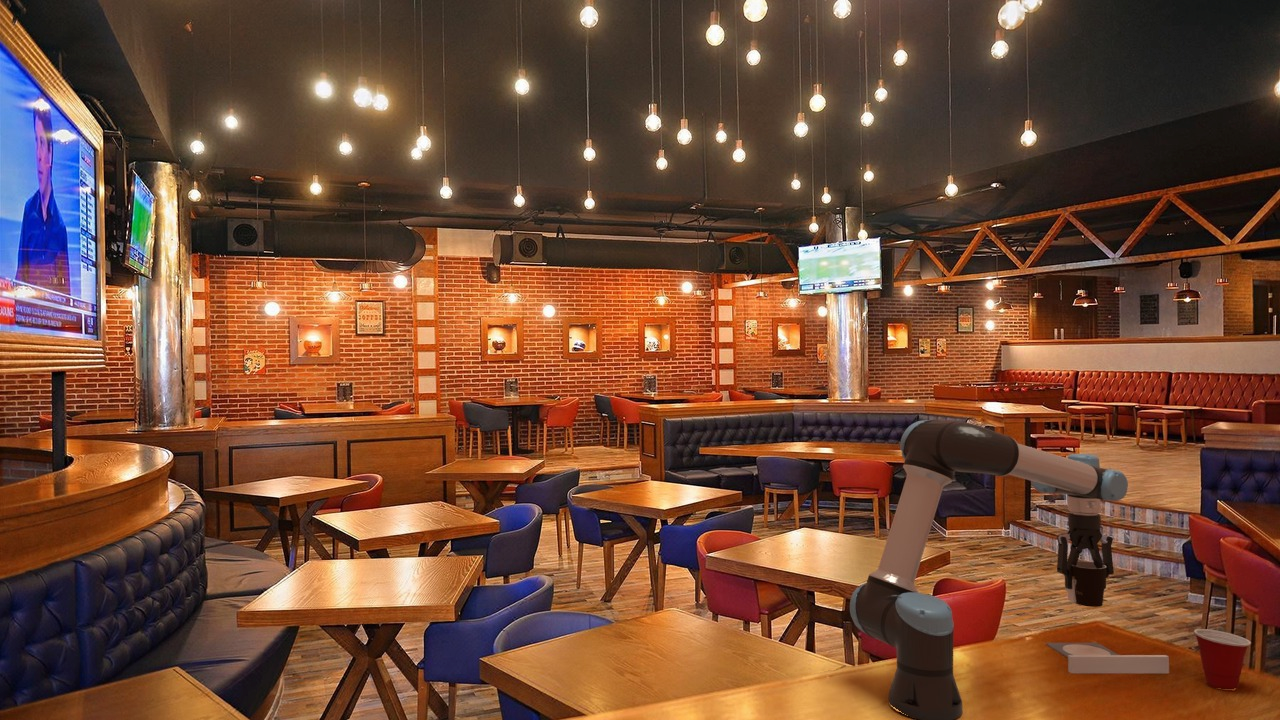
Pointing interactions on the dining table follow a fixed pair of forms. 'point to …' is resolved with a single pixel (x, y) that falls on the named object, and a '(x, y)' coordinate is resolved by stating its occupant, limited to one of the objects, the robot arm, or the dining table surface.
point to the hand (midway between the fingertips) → (1085, 601)
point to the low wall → (1118, 664)
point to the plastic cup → (1221, 657)
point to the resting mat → (1080, 649)
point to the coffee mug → (1088, 583)
